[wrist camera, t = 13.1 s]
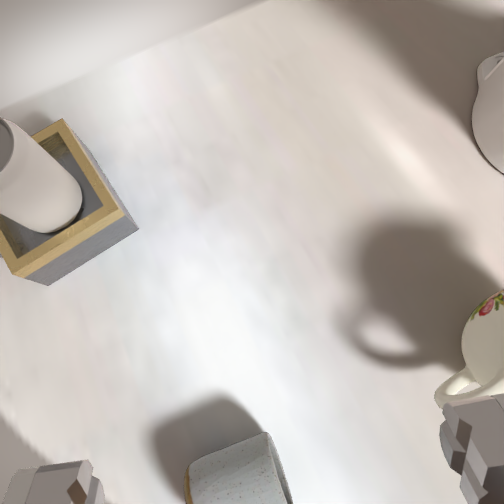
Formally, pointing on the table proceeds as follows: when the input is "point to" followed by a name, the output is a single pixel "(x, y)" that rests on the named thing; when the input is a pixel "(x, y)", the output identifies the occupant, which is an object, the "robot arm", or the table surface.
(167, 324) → the table surface
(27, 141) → the can
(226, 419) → the table surface
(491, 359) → the pitcher
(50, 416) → the table surface
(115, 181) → the table surface
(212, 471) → the ceramic mug
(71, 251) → the drawer
